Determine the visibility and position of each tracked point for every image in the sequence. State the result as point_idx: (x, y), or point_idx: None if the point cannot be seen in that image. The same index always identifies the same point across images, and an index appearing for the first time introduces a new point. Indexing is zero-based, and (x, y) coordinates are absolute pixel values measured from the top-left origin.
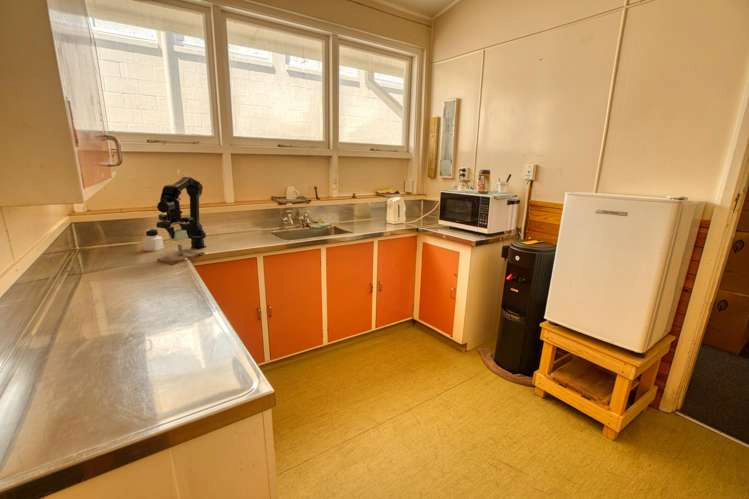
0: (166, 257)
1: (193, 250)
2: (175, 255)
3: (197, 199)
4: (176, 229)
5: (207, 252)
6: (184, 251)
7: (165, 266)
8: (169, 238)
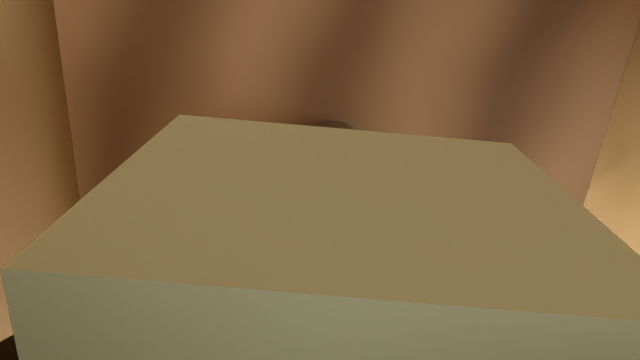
0: (157, 45)
1: (596, 116)
2: (289, 82)
3: None
4: (577, 321)
5: (634, 246)
6: (515, 28)
7: (14, 230)
8: (161, 130)
